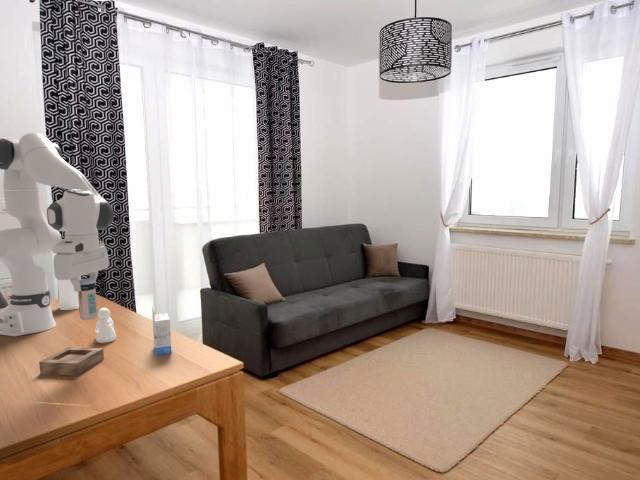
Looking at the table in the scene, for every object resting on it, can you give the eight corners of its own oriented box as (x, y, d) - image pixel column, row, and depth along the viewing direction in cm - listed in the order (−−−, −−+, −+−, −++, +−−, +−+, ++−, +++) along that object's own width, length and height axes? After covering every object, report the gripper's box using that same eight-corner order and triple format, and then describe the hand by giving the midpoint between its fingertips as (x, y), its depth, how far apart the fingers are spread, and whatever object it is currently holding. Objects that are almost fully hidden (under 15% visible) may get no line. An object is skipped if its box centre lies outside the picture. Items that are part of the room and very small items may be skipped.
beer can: (84, 315, 133) (81, 278, 132) (100, 315, 133) (97, 277, 132) (76, 320, 128) (73, 281, 127) (93, 320, 129) (90, 281, 127)
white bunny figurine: (97, 347, 146) (95, 312, 145) (94, 340, 153) (92, 307, 152) (117, 343, 150) (115, 309, 148) (114, 336, 157) (111, 304, 156)
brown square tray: (40, 375, 125) (39, 361, 124) (69, 359, 136) (68, 347, 136) (78, 377, 123) (77, 363, 123) (104, 361, 135) (103, 348, 134)
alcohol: (67, 315, 185) (61, 246, 182) (56, 312, 190) (50, 245, 187) (87, 310, 193) (82, 244, 189) (76, 307, 197) (71, 243, 194)
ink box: (172, 354, 139) (170, 310, 137) (156, 356, 137) (153, 312, 135) (169, 345, 147) (167, 304, 145) (153, 348, 145) (151, 306, 143)
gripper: (94, 239, 139) (97, 281, 140) (47, 247, 119) (51, 296, 120) (112, 239, 138) (115, 281, 140) (68, 248, 118) (72, 297, 119)
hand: (85, 288), depth 130 cm, fingers closed on beer can, 5 cm apart
